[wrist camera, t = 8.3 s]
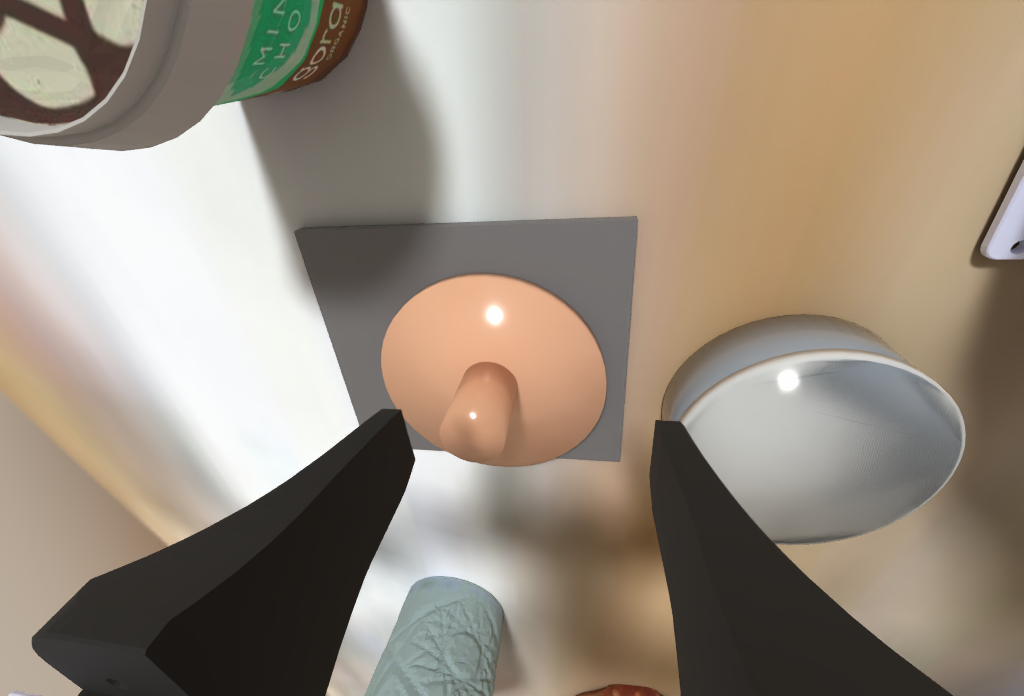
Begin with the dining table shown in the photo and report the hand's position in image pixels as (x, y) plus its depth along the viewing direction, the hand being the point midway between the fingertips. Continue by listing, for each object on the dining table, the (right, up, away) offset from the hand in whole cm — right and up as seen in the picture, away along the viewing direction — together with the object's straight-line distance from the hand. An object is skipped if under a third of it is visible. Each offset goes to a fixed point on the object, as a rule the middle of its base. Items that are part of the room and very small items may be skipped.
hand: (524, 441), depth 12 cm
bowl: (+13, 0, +10) cm, 16 cm away
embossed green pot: (-5, -20, +25) cm, 33 cm away
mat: (-2, +2, +11) cm, 12 cm away
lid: (-1, +1, +11) cm, 11 cm away
